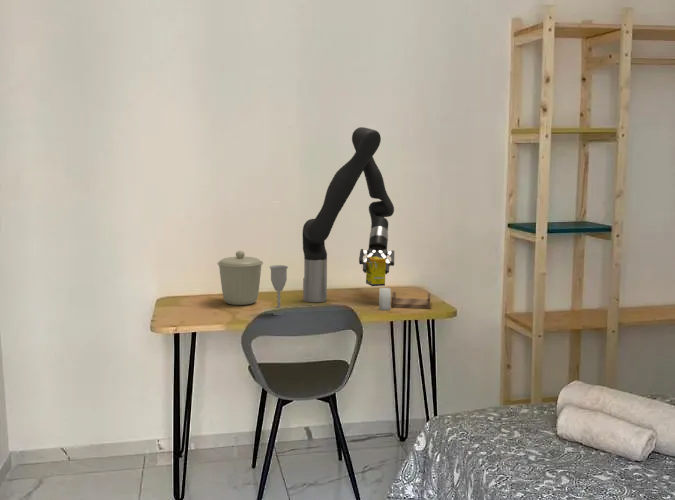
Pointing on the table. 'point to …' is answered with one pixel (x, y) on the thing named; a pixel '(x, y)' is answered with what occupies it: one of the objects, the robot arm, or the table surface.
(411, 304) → the wooden tray
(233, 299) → the canister
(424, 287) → the table surface
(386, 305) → the white rounded capsule
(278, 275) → the chalice
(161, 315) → the table surface
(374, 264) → the supplement box
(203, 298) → the table surface
